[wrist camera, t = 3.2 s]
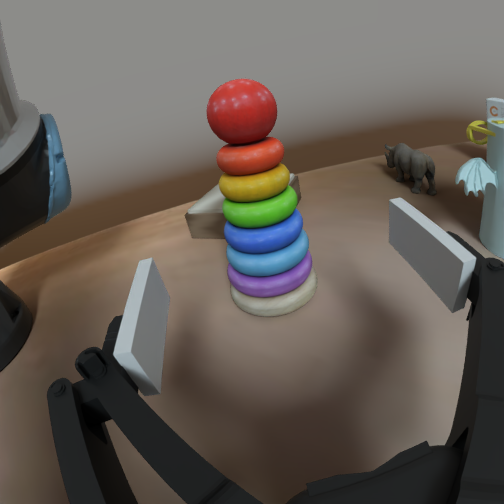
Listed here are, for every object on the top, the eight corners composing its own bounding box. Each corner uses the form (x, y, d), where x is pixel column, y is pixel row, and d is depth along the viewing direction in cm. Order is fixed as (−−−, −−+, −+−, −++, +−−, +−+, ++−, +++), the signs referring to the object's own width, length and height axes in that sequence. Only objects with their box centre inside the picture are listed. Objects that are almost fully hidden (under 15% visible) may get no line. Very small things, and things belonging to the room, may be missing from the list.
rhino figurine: (396, 167, 51) (395, 134, 48) (441, 194, 39) (442, 154, 36) (377, 170, 51) (374, 137, 48) (419, 199, 39) (419, 158, 36)
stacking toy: (292, 332, 25) (240, 77, 15) (217, 307, 29) (151, 102, 20) (331, 274, 30) (303, 68, 20) (262, 261, 34) (221, 83, 25)
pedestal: (192, 238, 43) (183, 211, 41) (230, 199, 52) (224, 177, 50) (275, 239, 37) (269, 209, 35) (301, 197, 46) (297, 172, 44)
